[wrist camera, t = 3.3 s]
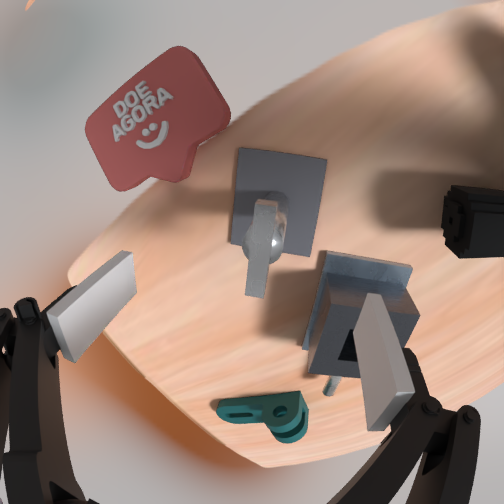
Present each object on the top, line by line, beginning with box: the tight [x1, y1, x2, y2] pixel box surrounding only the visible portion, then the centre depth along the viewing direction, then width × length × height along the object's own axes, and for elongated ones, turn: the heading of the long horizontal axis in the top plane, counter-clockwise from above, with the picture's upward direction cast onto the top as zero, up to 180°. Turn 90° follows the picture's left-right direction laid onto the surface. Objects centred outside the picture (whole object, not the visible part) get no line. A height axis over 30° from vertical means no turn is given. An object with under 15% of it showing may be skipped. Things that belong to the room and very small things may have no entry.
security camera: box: [441, 185, 504, 259], centre depth 23 cm, size 7×18×10 cm, turn 95°
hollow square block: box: [302, 251, 420, 396], centre depth 35 cm, size 22×12×8 cm, turn 174°
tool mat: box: [231, 148, 327, 257], centre depth 33 cm, size 12×10×1 cm
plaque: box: [85, 46, 231, 191], centre depth 30 cm, size 18×4×15 cm
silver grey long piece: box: [242, 191, 289, 298], centre depth 26 cm, size 7×3×14 cm, turn 174°
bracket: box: [216, 391, 309, 443], centre depth 46 cm, size 18×7×8 cm, turn 112°
